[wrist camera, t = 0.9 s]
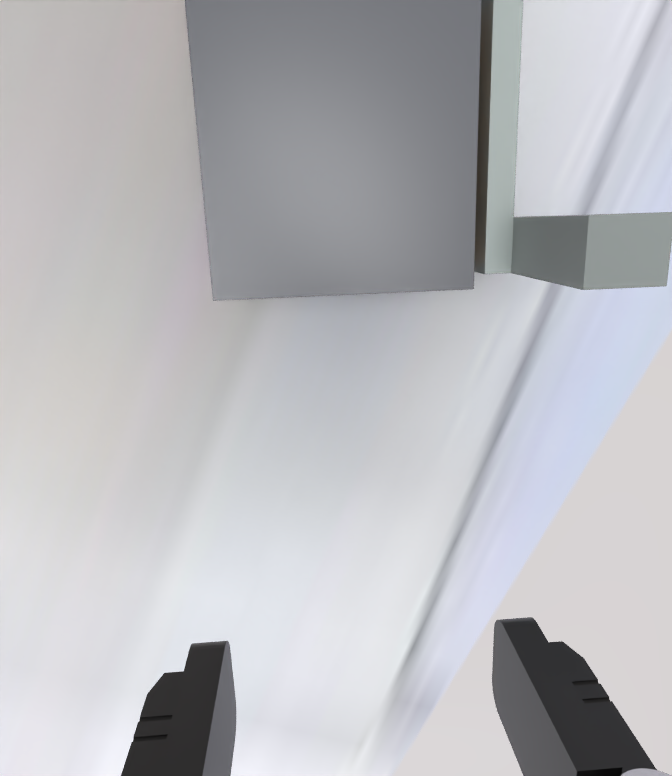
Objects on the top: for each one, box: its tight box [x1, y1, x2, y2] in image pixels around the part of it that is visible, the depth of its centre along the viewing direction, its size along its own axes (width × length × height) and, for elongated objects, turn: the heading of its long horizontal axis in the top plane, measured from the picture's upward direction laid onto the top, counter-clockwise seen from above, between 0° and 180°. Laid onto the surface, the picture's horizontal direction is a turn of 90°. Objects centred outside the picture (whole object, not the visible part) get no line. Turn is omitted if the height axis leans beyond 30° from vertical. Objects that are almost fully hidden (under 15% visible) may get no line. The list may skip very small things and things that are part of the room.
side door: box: [474, 0, 672, 290], centre depth 22 cm, size 10×3×15 cm, turn 2°
